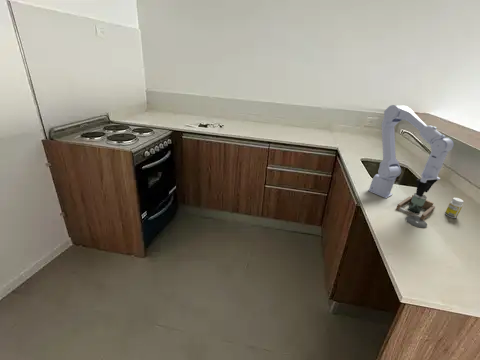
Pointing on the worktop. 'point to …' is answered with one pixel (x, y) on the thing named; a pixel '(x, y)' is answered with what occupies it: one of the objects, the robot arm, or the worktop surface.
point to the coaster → (416, 222)
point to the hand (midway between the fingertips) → (421, 193)
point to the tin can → (417, 203)
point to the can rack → (427, 206)
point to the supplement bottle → (454, 207)
